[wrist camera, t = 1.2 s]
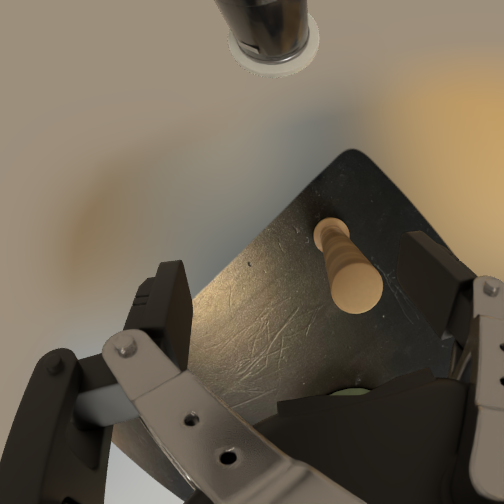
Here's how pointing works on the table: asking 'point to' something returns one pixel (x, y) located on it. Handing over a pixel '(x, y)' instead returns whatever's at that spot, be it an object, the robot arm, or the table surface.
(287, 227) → the table surface
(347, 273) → the brown wooden rod
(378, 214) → the table surface
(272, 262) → the table surface
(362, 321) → the table surface
